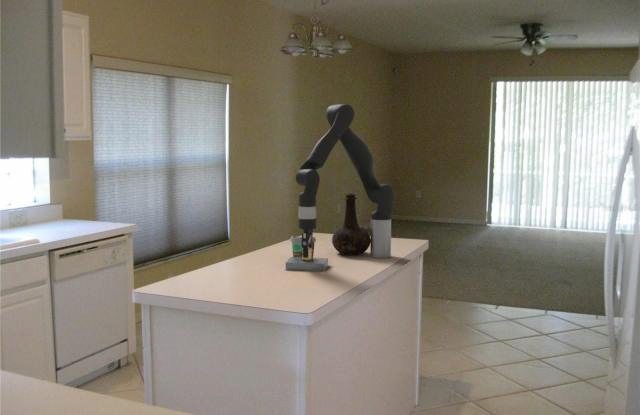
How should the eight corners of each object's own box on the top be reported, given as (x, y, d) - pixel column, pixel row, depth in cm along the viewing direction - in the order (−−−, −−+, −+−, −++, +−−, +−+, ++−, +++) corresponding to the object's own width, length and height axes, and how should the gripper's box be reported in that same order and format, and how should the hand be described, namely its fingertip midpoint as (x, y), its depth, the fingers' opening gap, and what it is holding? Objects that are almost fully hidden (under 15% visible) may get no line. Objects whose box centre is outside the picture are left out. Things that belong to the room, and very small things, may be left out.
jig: (328, 265, 271) (328, 258, 271) (324, 270, 259) (324, 263, 259) (291, 263, 273) (291, 257, 273) (285, 269, 262) (285, 262, 261)
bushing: (312, 266, 268) (312, 247, 267) (311, 268, 264) (311, 249, 263) (303, 266, 269) (303, 247, 268) (301, 268, 265) (301, 249, 264)
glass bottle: (376, 255, 294) (377, 195, 291) (341, 258, 287) (341, 196, 284) (360, 249, 310) (360, 192, 307) (326, 251, 304) (326, 193, 301)
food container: (285, 258, 285) (285, 236, 284) (292, 256, 291) (292, 234, 289) (309, 261, 279) (309, 238, 278) (315, 259, 285) (316, 236, 284)
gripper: (313, 219, 257) (313, 259, 258) (318, 215, 271) (318, 253, 272) (295, 219, 258) (295, 258, 259) (301, 214, 272) (301, 252, 273)
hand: (307, 255), depth 266 cm, fingers open, 8 cm apart
